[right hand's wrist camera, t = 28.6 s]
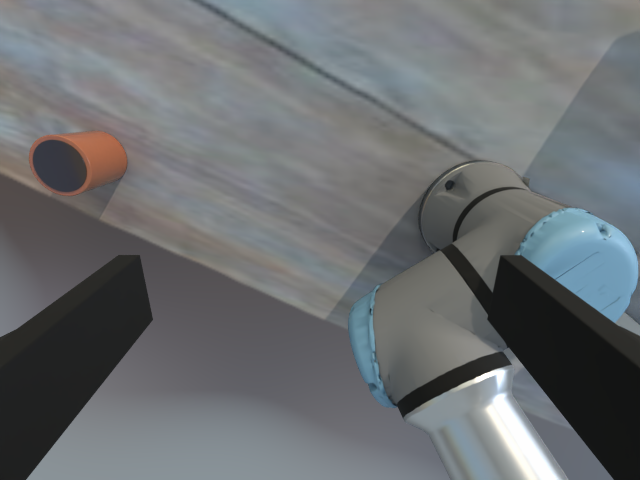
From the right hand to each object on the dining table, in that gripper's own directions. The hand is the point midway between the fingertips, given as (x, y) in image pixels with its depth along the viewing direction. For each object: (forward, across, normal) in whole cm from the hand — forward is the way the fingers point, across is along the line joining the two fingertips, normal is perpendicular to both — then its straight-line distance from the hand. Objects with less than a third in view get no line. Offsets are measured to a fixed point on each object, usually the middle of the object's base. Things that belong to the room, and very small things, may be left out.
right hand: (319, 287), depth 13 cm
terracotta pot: (+37, +30, 0) cm, 47 cm away
